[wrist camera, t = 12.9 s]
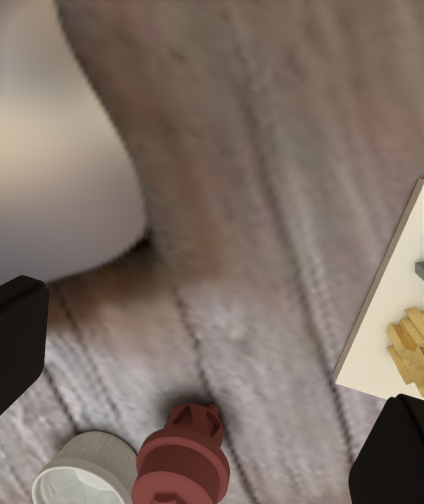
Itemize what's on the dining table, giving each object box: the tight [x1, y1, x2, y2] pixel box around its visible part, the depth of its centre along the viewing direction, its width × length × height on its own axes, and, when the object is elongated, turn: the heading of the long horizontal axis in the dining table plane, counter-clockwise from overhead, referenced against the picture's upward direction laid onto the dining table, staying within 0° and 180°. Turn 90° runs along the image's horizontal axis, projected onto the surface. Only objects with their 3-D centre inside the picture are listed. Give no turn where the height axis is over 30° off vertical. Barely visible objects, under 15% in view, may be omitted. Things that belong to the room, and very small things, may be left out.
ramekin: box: [32, 431, 138, 504], centre depth 46 cm, size 13×13×7 cm
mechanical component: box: [131, 404, 230, 504], centre depth 38 cm, size 12×10×10 cm
